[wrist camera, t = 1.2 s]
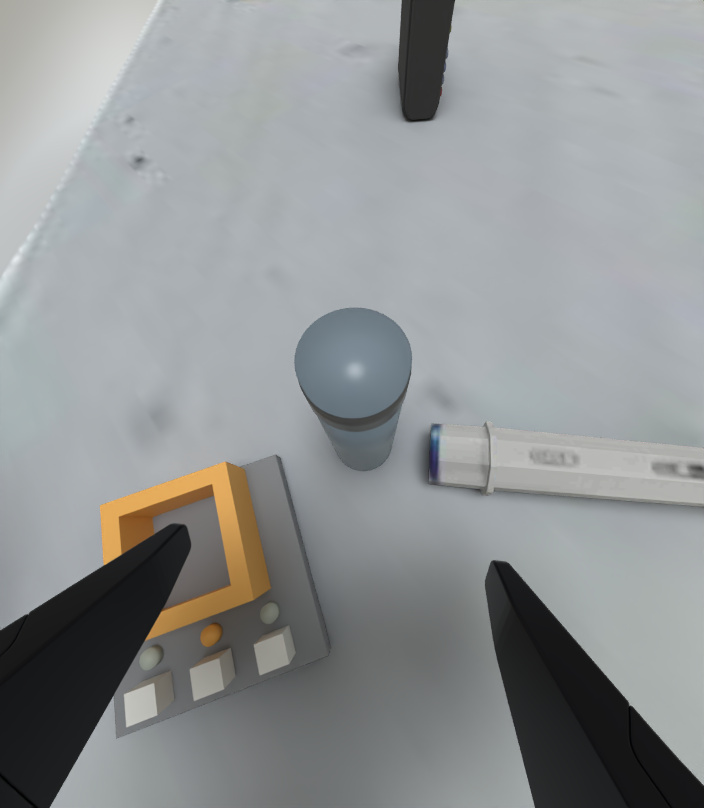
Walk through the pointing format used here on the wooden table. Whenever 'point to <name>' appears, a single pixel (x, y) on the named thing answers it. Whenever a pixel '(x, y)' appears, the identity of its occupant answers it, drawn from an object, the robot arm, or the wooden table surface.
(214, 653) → the panel
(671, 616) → the wooden table surface
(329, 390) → the plug
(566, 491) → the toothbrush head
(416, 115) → the black upright block
